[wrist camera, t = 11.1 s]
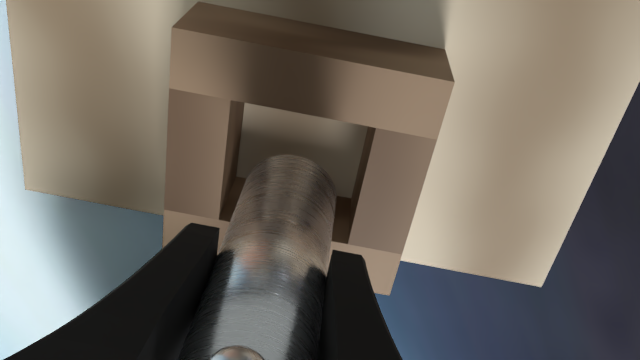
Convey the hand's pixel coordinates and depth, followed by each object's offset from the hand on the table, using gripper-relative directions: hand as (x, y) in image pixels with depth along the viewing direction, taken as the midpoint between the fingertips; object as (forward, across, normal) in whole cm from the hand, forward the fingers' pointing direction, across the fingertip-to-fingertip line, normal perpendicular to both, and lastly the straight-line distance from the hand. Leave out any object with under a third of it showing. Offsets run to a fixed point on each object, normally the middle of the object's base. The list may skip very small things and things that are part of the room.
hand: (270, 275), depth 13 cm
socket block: (+7, 0, 0) cm, 7 cm away
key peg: (+3, 0, 0) cm, 3 cm away
